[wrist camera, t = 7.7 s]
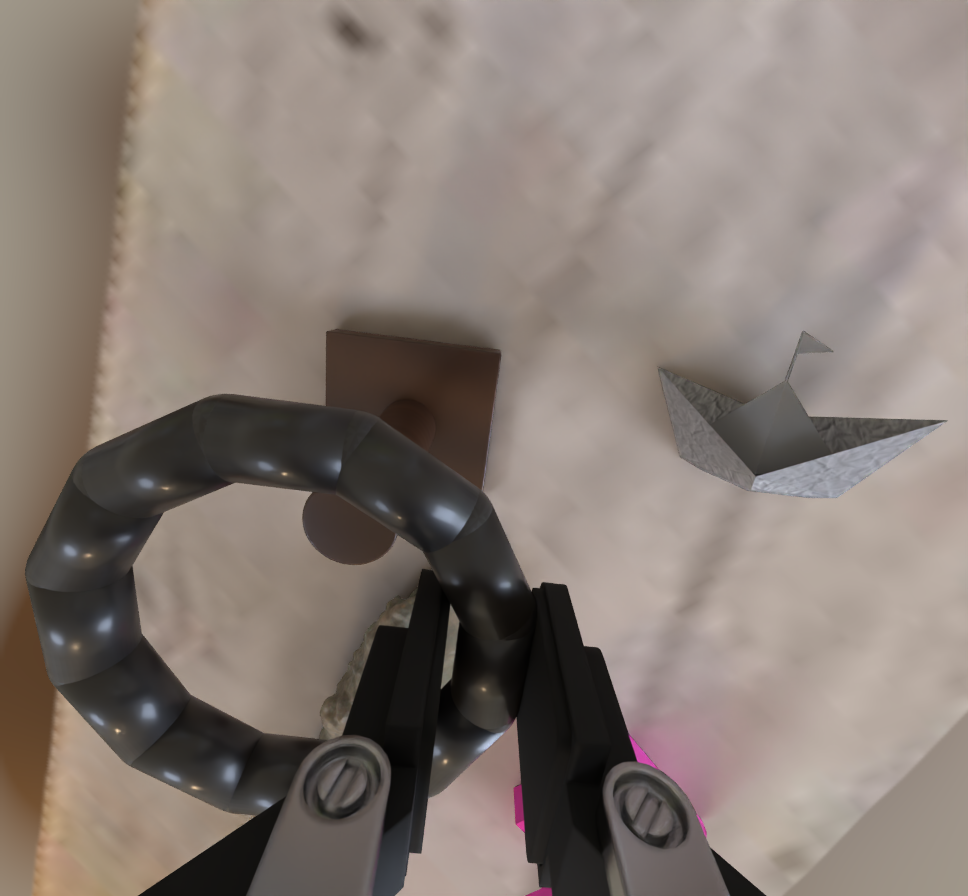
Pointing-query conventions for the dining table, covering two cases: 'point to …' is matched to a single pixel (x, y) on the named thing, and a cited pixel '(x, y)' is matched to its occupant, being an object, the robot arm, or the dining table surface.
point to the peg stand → (404, 421)
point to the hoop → (282, 464)
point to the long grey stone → (341, 702)
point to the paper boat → (782, 437)
